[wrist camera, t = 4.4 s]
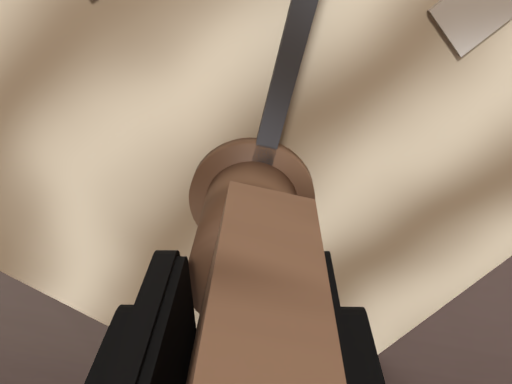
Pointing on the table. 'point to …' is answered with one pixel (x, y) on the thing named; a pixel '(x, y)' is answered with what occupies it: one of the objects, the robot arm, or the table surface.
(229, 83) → the dial board
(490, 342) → the table surface
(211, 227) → the tuning peg
